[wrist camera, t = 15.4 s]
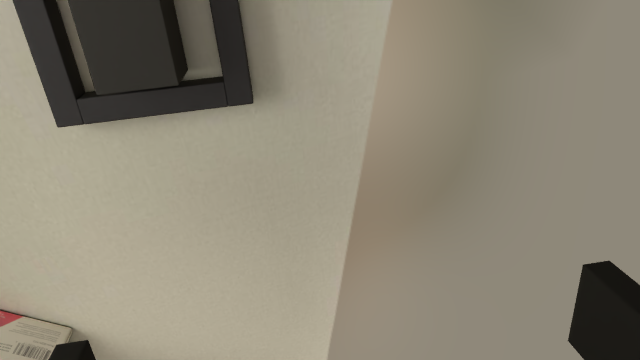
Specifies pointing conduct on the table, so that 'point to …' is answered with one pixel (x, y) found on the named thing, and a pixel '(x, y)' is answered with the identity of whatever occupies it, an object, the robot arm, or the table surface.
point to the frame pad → (86, 108)
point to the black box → (130, 43)
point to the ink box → (29, 337)
